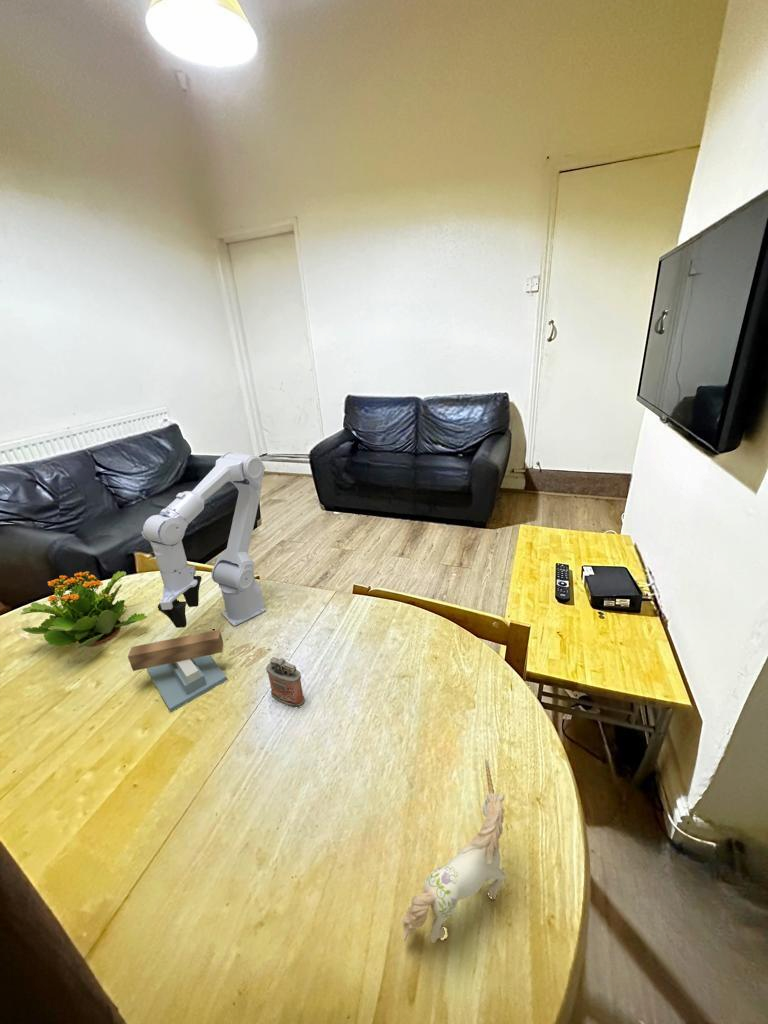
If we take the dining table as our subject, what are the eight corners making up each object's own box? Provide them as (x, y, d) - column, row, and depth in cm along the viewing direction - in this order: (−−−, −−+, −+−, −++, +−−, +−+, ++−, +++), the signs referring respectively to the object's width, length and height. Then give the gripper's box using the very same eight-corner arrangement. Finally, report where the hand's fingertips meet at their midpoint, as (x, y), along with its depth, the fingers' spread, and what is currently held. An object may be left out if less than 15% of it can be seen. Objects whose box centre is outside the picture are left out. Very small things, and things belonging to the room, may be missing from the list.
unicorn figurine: (524, 851, 60) (534, 792, 54) (445, 999, 47) (448, 941, 41) (480, 815, 64) (485, 758, 59) (398, 941, 51) (395, 882, 46)
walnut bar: (133, 671, 87) (127, 656, 86) (136, 661, 90) (131, 646, 88) (222, 652, 92) (218, 638, 90) (223, 643, 94) (219, 629, 93)
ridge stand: (147, 670, 95) (140, 652, 93) (199, 644, 102) (194, 626, 100) (170, 712, 84) (163, 692, 82) (227, 679, 91) (222, 660, 89)
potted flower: (172, 609, 116) (156, 555, 109) (114, 673, 94) (89, 611, 87) (90, 606, 119) (69, 553, 112) (16, 668, 97) (-16, 607, 90)
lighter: (267, 697, 87) (260, 660, 83) (278, 685, 89) (271, 649, 85) (298, 711, 83) (291, 673, 79) (308, 698, 86) (302, 662, 82)
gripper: (178, 583, 85) (193, 635, 90) (203, 549, 98) (214, 596, 104) (143, 585, 85) (160, 637, 90) (173, 551, 98) (186, 598, 103)
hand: (187, 615), depth 97 cm, fingers open, 7 cm apart
